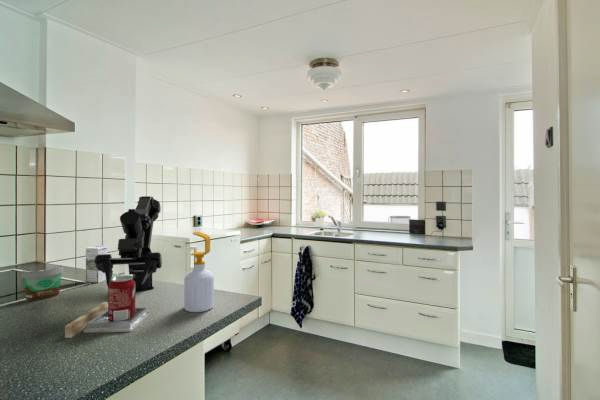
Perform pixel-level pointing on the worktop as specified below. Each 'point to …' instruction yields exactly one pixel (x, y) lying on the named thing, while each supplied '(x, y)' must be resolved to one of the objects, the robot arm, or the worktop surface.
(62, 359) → the worktop surface
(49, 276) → the food container
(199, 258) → the soap bottle
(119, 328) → the tray
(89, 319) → the oak threshold
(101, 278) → the syrup box
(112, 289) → the soda can
